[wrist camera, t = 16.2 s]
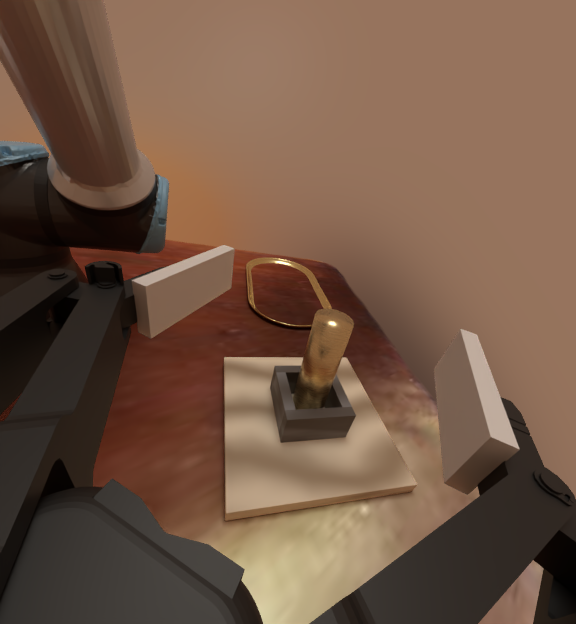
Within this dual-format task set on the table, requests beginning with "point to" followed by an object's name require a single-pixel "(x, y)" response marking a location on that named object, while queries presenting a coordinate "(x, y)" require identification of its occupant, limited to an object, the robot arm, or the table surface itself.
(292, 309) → the table surface
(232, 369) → the socket board
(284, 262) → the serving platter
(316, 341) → the brass post
